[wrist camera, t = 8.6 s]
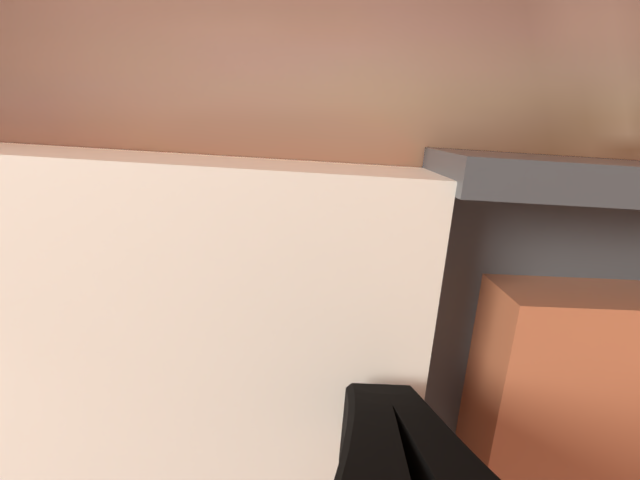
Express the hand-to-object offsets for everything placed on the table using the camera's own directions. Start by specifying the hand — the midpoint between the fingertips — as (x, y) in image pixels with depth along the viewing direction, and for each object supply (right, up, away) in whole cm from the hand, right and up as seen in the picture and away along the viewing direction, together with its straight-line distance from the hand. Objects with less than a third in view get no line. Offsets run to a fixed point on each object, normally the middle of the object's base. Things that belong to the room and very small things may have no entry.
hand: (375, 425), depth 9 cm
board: (-5, +1, +3) cm, 6 cm away
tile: (+6, 0, +3) cm, 7 cm away
